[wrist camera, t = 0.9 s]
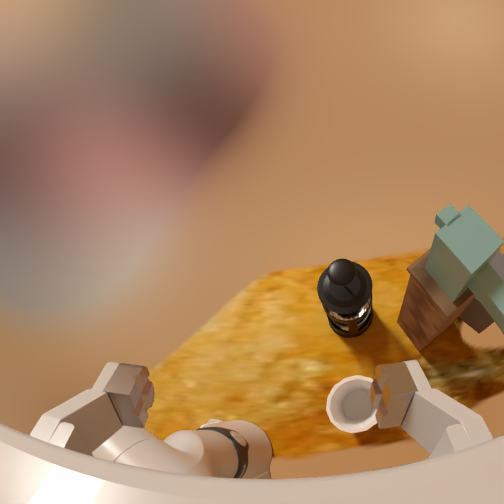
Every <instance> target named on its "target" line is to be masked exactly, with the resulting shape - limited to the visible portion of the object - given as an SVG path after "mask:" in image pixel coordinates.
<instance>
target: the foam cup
mask: <svg viewBox="0 0 504 504" xmlns="http://www.w3.org/2000/svg"><path fill="white" fill-rule="evenodd" d="M373 381H374V380H373V379H371V378H369V377H364V376H360V375H357V376H352V377H347V378H344V379H343V380H342V381H340V382H339V383H338V384H336V385H335V386H334V387H333V389H332V390H331V392H330V394H329V395H328V397H327V407H326V411H327V413H328V416H329V419H330V421H331V422H332V423H333V424H334V425H335V426H336V427H337V428H338V429H340V430H342V431H346V432H350V433H357V432H362V431H366V430H368V429H369V428H371V427H372V426H373V425H375V424H376V423H377V420H376V417H375V414H376V411H377V409H375V408H374V407H373V406H372V403H371V398H370V389H371V384H372V382H373Z"/></svg>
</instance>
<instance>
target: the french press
mask: <svg viewBox="0 0 504 504" xmlns="http://www.w3.org/2000/svg"><path fill="white" fill-rule="evenodd" d="M317 290H318V296H319V299H320V300H321V302H322V305H323V308H324V310H325V312H326V314H327V317H328V320H329V324H330V326H331V328H332V329H333V331H334V332H335V333H337V334H338V335H340V336H343V337H347V338H352V337H357V336H359V335H361V334H363V333H364V332H365V331H366V330H367V329H368V328H369V327H370V325H371V322H372V319H373V311H372V280H371V277H370V275H369V273H368V271H367V270H366V269H365V268H364V267H362V266H361V265H360V264H357V263H355V262H351V261H349V260H347V259H338V260H335V261H334V262H332V263H331V264H330V266H329V267H328V268H327V269H325V271H324V272H323V273H322V275H321V276H320V278H319V281H318V286H317ZM365 320H366V321H365ZM364 321H365V323H364V324H363V325H362V326H361V327H360V328H359V329H358V325H360V324H361V323H363V322H364ZM338 326H340V327H343V328H348V329H349V331H346V330H343V329H341V328H340V327H338Z"/></svg>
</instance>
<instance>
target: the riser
mask: <svg viewBox="0 0 504 504" xmlns="http://www.w3.org/2000/svg"><path fill="white" fill-rule="evenodd" d="M490 265H491V267H492V268H493V269H494V270H495V271H496V272H497V274H498V275H499V276H500V277H501V279H502V280H503V281H504V255H503V254H502V253H501V252H499V251H498V252H497V253H496V255H495V257H494V258H493V260H492V261H491V263H490ZM459 318H460V319H461V320H463V321H464V322H465V323H467V324H468V325H469V326H470V327H472V328H473V329H474V330H475V331H477V332H478V333H480V332H482V331H483V330H484V329H486V328H487V327H488V326H489V325H491V324H492V323H493V322H494V320H493V318H492V317H491V316H490V314H489V313H488V312H487V310H486V309H485V308H484V307H483V305H482V304H481V303H480V301H479V300H478V299H477V298H476V297H475V298H474V299H473V300H472V301H471V303H470V304H469V305H468V306H467V307H466V309H465V310H464V311H463V312H462V313H461V314H460V316H459Z"/></svg>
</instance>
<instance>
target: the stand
mask: <svg viewBox="0 0 504 504" xmlns="http://www.w3.org/2000/svg"><path fill="white" fill-rule="evenodd" d="M430 250H431V249H430ZM430 250H428V251H427V252H426V253H425V254H423V255H422V256H421V257H420V258H419V259H417V260H416V261H415V262H414V263H412V264H411V265H410V266H409V267H407V271H408V272H409V273H410V274H411V275H410V278H409V282H408V286H407V290H406V293H405V297H404V300H403V304H402V307H401V310H400V314H399V317H398V320H397V322H398V324H399V325H400V326H401V328H402V329H403V330H404V332H405V333H406V335H407V336H408V337H409V339H410V340H411V341H412V343H413V344H414V346H415V347H416V348H417V350H418V351H419V352H420V351H421V350H422V349H423V348H425V347H426V346H427V345H428V344H430V343H431V342H432V341H433V340H434V339H436V338H437V337H438V336H439V335H440V334H441V333H443V332H444V331H445V330H446V329H447V328H448V327H449V326H451V325H452V324H453V322H454V321H455V320H456V319H457V318H458V317H459V316H460V314H461V313H462V312H463V311H464V310H465V309H466V307H467V306H468V305H469V304H470V303H471V301H472V300H473V299H474V298H475V297H476V296H475V295H474V294H473V293H472V291H471V290H470V289H469V288H468V289H467V290H466V291H465V292H464V293H463V294H462V295H461V296H460V297H458V298H457V299H456V300H455V301H454V302H452V301H451V300H450V299H449V297H448V296H447V295H446V294H445V292H444V291H443V290H442V289H441V287H440V286H439V285H438V284H437V283H436V281H435V280H434V279H433V278H432V276H431V275H430V274H429V273H428V272H427V271H426V269H425V266H426V263H427V260H428V256H429V253H430Z"/></svg>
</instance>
